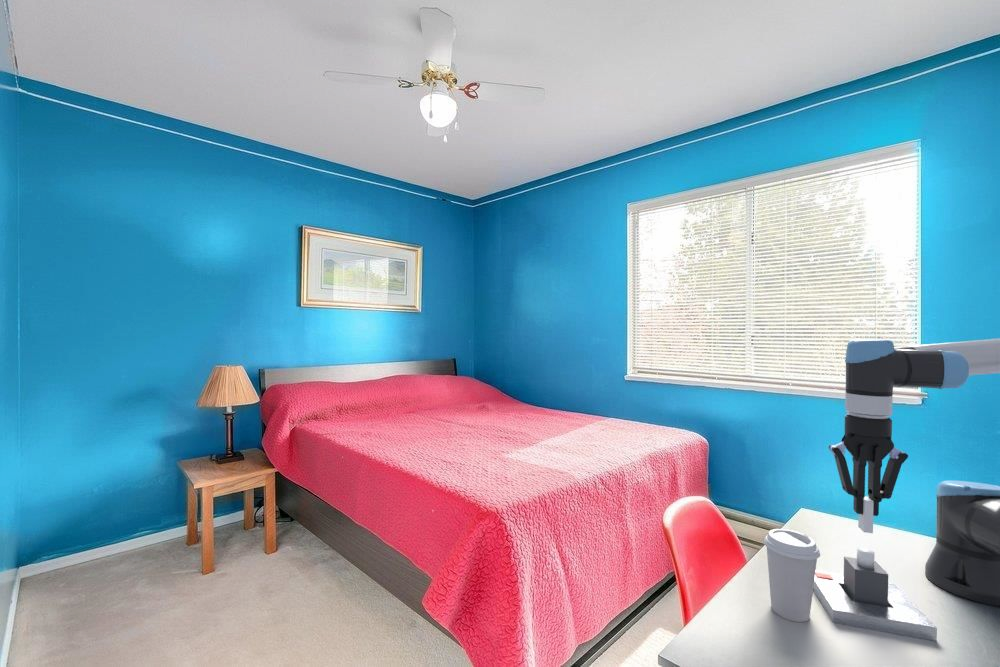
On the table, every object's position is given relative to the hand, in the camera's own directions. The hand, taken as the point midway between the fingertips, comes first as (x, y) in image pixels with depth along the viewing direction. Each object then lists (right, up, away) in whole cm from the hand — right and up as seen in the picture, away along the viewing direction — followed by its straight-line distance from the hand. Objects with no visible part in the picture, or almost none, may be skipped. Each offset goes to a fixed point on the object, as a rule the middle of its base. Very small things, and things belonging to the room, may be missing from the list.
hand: (865, 529), depth 93 cm
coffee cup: (-17, -16, -2) cm, 23 cm away
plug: (0, -15, 0) cm, 15 cm away
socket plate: (0, -16, 0) cm, 16 cm away
